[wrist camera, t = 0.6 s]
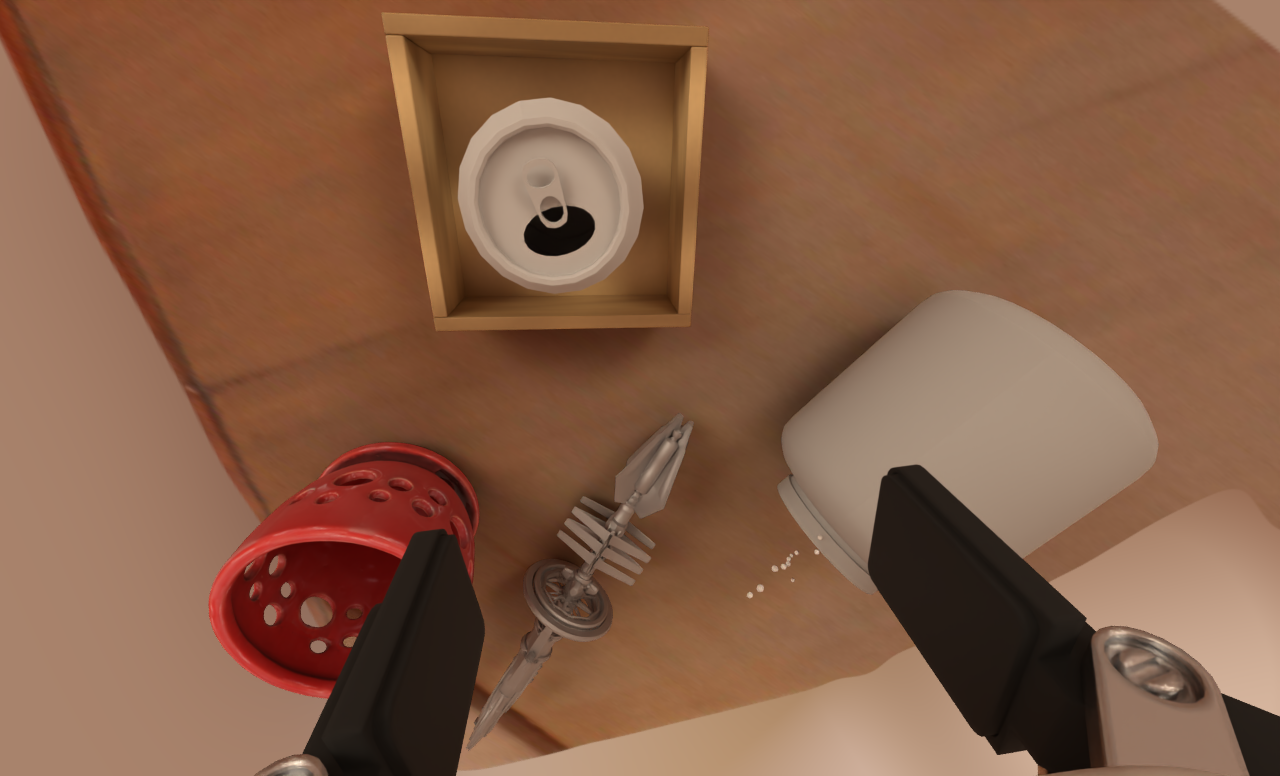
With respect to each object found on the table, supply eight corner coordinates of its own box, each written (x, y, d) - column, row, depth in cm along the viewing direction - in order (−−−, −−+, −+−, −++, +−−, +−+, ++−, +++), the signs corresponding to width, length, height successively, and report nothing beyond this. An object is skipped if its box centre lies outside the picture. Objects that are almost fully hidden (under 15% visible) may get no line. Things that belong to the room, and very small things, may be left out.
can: (525, 266, 31) (493, 325, 20) (477, 138, 28) (409, 127, 17) (639, 233, 31) (668, 275, 20) (604, 100, 28) (618, 64, 17)
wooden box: (416, 37, 26) (380, 11, 21) (688, 47, 27) (709, 26, 23) (456, 306, 32) (435, 331, 28) (676, 304, 33) (690, 327, 29)
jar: (1078, 471, 37) (819, 670, 39) (922, 342, 44) (705, 517, 45) (1302, 406, 20) (825, 765, 22) (992, 209, 27) (639, 497, 28)
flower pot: (504, 551, 41) (476, 692, 30) (340, 563, 40) (249, 714, 29) (483, 415, 36) (439, 527, 25) (291, 424, 34) (157, 546, 24)
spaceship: (404, 760, 39) (486, 819, 38) (628, 399, 31) (733, 467, 31) (458, 686, 47) (526, 735, 46) (648, 382, 39) (732, 436, 39)
